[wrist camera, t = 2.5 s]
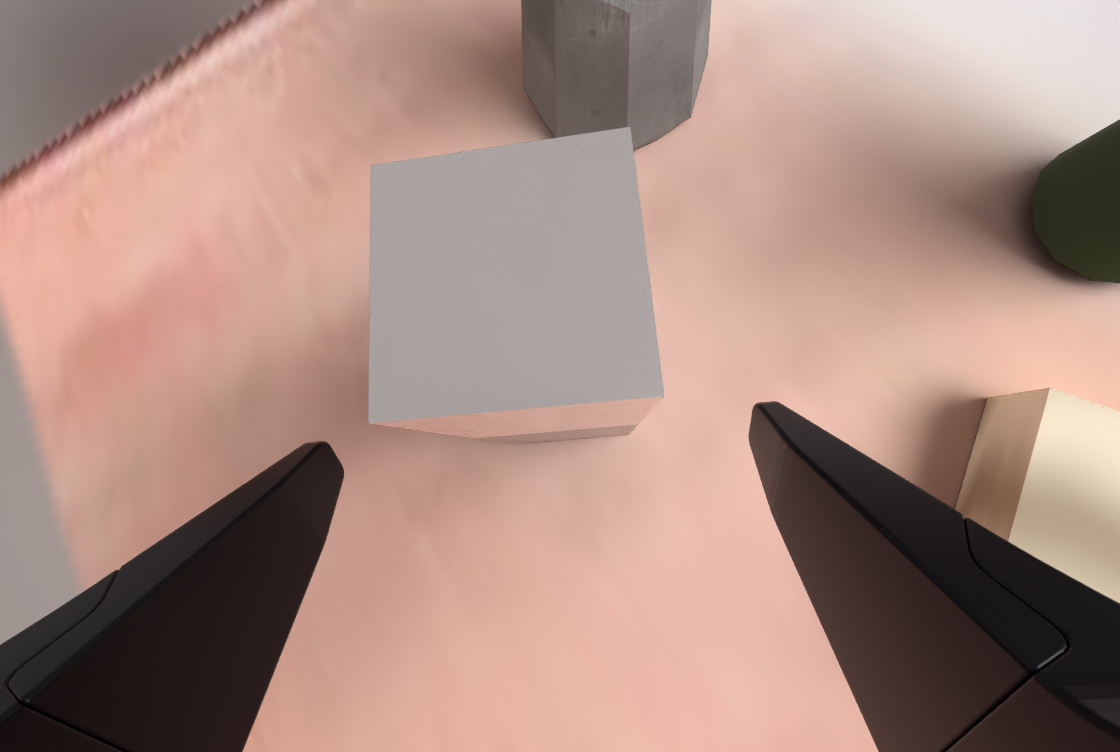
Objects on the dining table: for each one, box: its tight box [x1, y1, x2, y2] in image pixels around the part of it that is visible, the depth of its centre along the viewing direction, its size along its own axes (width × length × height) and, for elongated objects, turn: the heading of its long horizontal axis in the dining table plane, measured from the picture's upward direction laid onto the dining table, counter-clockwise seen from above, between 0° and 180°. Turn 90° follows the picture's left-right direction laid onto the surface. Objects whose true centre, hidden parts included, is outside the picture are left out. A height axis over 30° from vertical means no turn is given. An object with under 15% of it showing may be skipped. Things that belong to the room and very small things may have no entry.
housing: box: [368, 127, 664, 444], centre depth 13 cm, size 5×5×12 cm
